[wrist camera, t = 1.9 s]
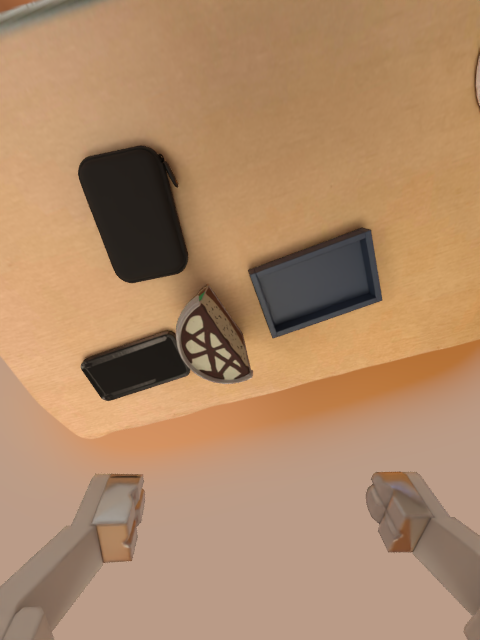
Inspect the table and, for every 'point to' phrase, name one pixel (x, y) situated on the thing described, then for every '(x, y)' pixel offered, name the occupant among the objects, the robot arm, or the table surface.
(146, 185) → the carrying case
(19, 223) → the table surface
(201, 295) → the food container
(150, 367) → the phone
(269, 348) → the table surface
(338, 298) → the tray
